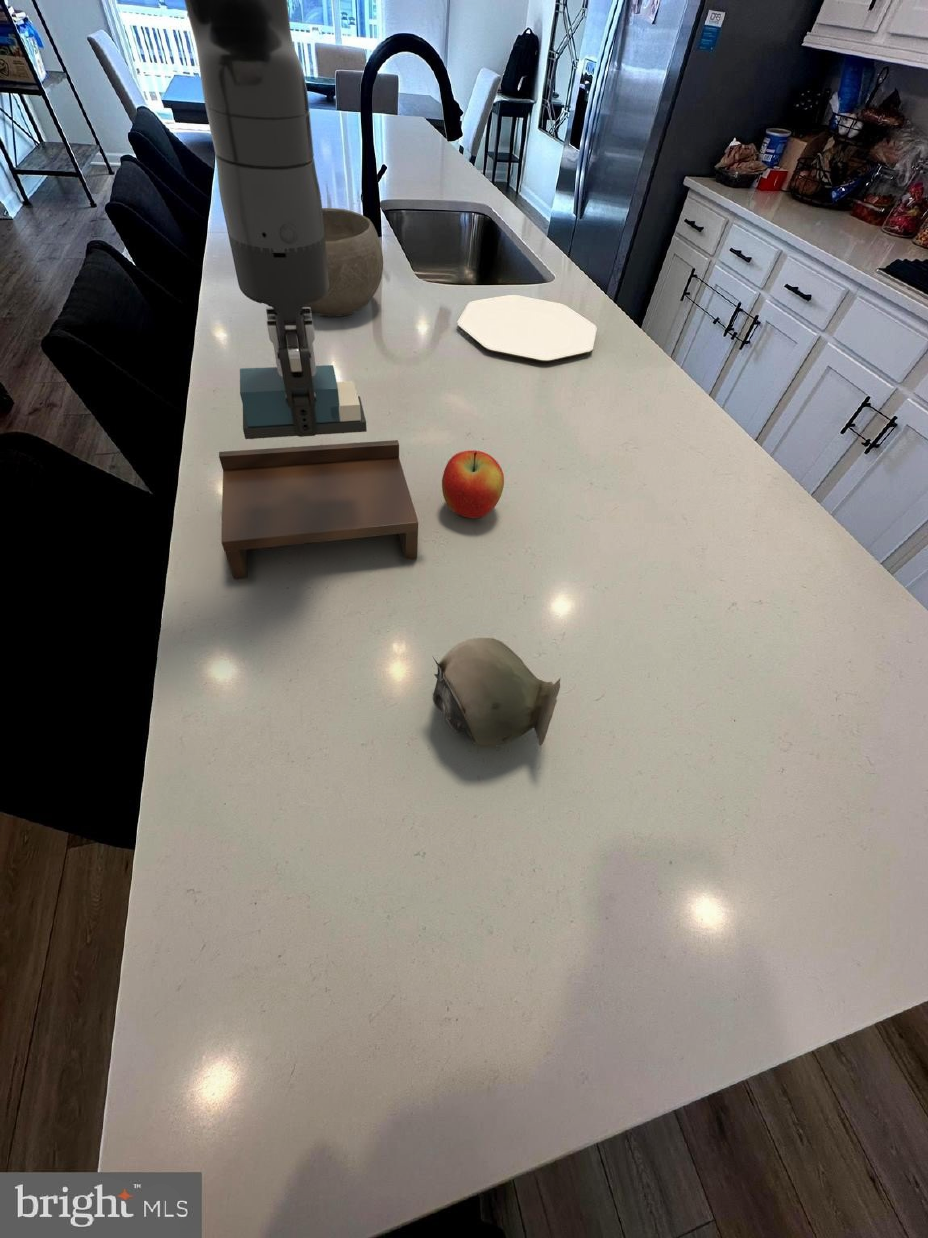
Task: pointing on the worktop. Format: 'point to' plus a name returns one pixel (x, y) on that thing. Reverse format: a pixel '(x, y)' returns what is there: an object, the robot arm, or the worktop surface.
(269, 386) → the teal eraser block
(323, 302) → the bowl
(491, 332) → the plate
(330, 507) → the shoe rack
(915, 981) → the worktop surface
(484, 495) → the apple
